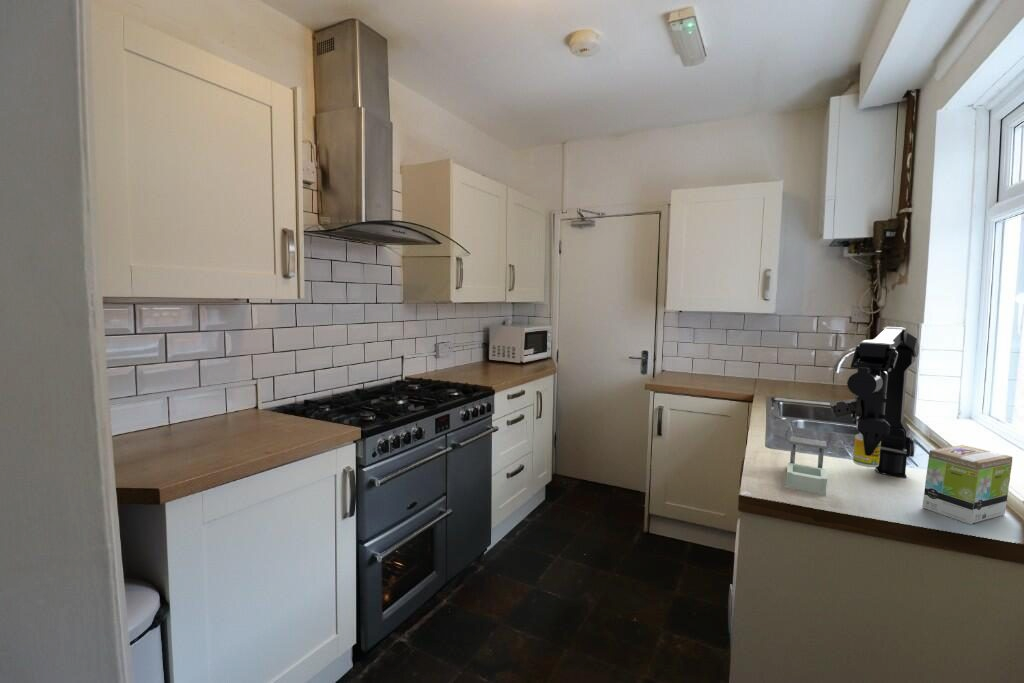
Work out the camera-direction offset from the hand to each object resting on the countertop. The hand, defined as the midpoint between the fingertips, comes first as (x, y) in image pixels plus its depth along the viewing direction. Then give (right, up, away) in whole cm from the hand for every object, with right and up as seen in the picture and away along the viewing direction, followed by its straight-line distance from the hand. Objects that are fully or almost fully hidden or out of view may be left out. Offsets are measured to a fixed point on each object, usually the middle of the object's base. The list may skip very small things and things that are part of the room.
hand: (866, 452), depth 121 cm
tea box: (+19, -13, -6) cm, 24 cm away
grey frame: (-4, -10, +19) cm, 22 cm away
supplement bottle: (0, -3, 0) cm, 3 cm away
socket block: (-7, -11, +13) cm, 18 cm away
